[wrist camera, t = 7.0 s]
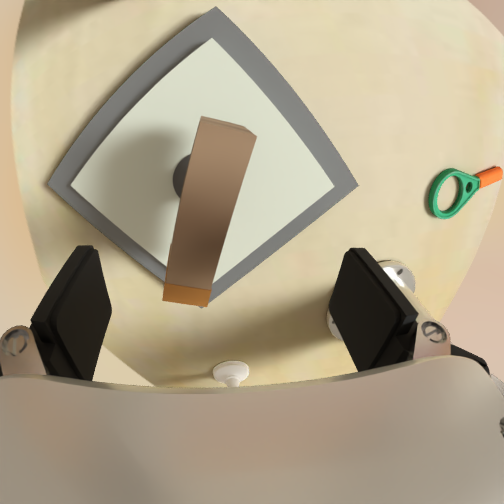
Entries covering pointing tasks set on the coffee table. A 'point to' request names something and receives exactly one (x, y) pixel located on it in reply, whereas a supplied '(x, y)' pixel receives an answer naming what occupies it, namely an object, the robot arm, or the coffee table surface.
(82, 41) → the coffee table surface
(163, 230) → the cover
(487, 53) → the coffee table surface
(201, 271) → the t key
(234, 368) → the chess piece
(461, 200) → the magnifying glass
